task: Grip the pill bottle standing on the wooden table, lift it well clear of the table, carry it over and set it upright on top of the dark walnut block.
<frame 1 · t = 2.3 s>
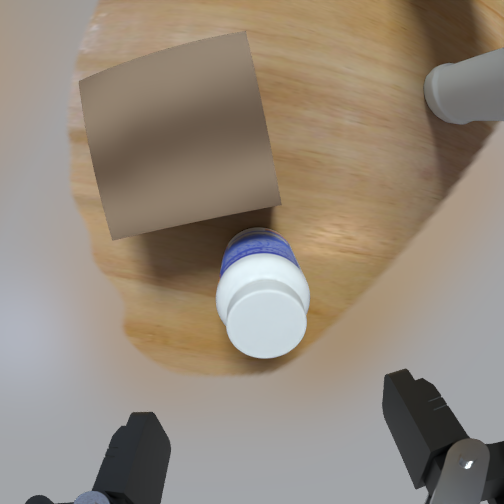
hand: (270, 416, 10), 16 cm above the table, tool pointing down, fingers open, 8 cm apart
bottle: (444, 95, 20), on the table
walnut block: (190, 138, 22), on the table
pill bottle: (258, 259, 25), on the table
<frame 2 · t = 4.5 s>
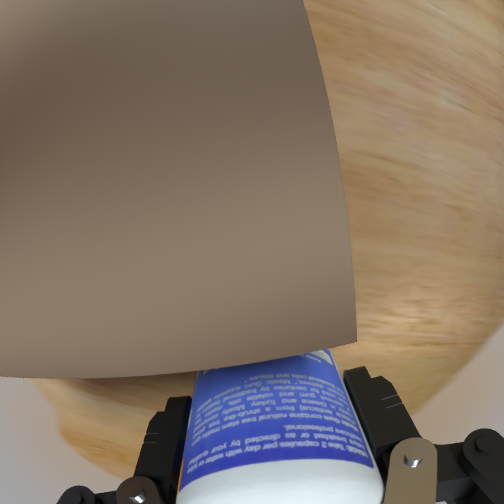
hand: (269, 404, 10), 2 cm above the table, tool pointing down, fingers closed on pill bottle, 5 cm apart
walnut block: (122, 127, 9), on the table
pill bottle: (267, 367, 12), on the table, touching gripper
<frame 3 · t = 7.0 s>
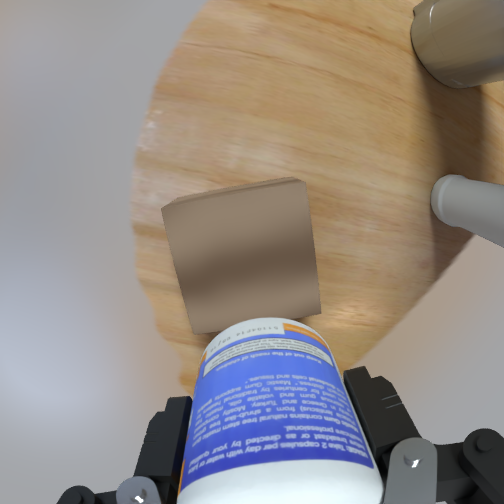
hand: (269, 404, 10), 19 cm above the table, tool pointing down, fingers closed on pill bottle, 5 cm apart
bottle: (447, 198, 28), on the table
walnut block: (244, 242, 28), on the table
pill bottle: (267, 367, 12), point 17 cm above the table, touching gripper
when the fingers open (9 cm above the table, at t = 9.9 s): pill bottle drops 1 cm, resting on walnut block.
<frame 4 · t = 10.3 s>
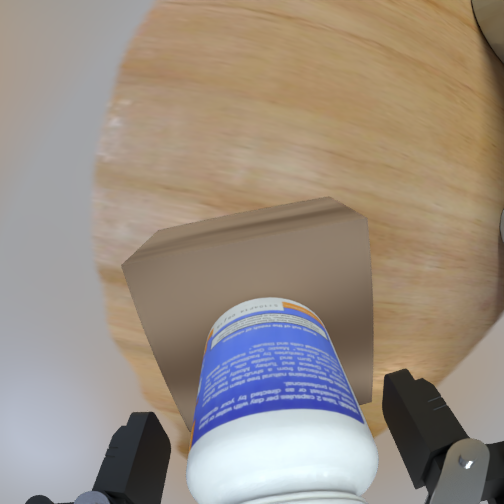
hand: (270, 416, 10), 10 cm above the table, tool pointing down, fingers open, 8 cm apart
walnut block: (259, 293, 19), on the table
pill bottle: (268, 346, 14), point 6 cm above the table, touching walnut block
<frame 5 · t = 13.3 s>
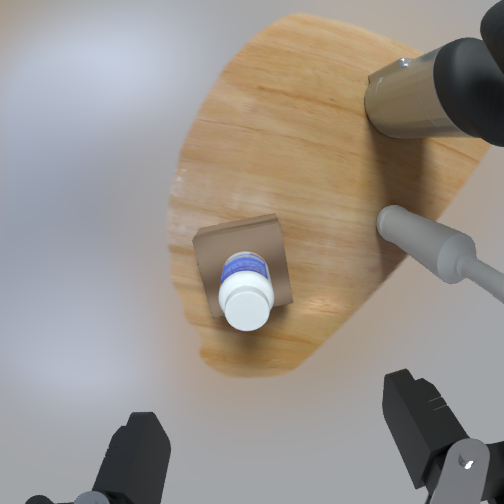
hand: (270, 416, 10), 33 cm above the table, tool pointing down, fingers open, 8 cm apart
bottle: (390, 221, 42), on the table
walnut block: (244, 256, 43), on the table
pill bottle: (245, 272, 37), point 6 cm above the table, touching walnut block
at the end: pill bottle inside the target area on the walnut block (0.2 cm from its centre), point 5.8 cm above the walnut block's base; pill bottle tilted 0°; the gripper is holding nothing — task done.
